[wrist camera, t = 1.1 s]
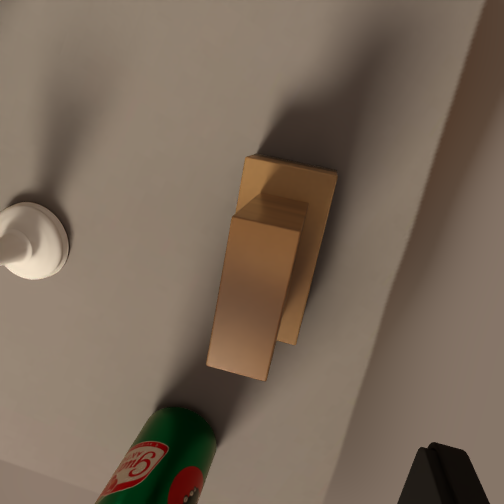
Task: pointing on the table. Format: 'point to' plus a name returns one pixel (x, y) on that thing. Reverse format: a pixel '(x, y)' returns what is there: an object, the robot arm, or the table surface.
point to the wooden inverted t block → (269, 262)
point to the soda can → (164, 461)
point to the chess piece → (32, 241)
